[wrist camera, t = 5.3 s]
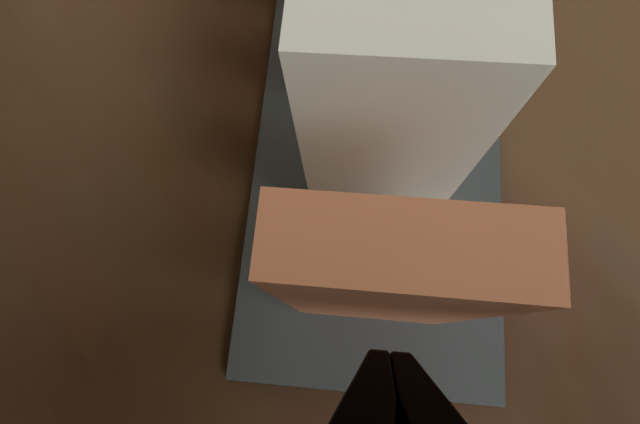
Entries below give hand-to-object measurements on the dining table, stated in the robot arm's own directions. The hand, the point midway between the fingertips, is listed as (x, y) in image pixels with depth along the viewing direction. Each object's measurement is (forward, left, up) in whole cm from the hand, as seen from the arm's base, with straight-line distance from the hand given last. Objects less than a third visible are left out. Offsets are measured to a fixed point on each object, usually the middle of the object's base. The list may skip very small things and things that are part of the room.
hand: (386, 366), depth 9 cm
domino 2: (+2, +1, -8) cm, 8 cm away
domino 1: (+6, +2, -8) cm, 10 cm away
